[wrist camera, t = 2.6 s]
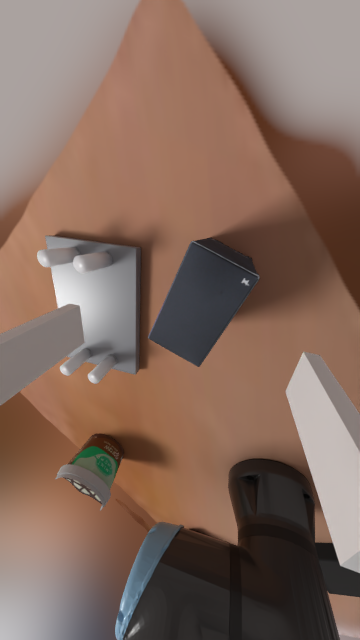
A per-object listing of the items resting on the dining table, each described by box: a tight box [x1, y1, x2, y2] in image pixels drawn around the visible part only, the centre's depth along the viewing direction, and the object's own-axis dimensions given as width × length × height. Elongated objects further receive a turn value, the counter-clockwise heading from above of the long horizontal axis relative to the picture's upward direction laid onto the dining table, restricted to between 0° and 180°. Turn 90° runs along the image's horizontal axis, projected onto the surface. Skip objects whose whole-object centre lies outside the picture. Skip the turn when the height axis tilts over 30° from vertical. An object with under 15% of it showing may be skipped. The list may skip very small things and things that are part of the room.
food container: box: [56, 434, 124, 510], centre depth 43 cm, size 12×6×10 cm, turn 55°
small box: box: [148, 238, 259, 367], centre depth 22 cm, size 11×6×10 cm, turn 156°
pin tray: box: [37, 236, 141, 384], centre depth 30 cm, size 14×21×6 cm, turn 175°
